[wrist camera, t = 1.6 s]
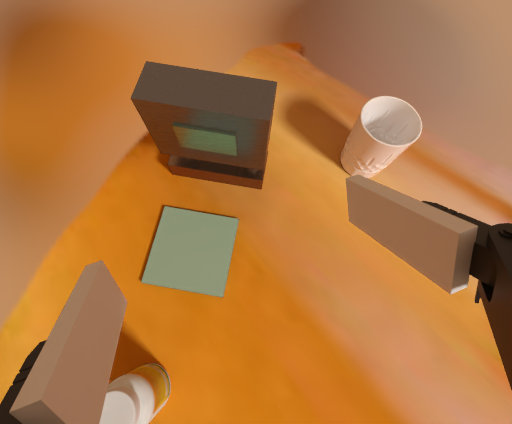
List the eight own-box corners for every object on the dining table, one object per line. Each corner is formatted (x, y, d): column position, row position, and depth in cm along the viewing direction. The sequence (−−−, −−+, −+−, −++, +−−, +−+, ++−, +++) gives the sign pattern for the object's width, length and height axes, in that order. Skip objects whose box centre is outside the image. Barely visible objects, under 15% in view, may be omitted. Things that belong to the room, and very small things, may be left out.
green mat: (142, 282, 36) (141, 282, 35) (165, 207, 40) (164, 206, 39) (223, 297, 36) (222, 297, 35) (238, 220, 39) (238, 218, 39)
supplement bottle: (155, 424, 31) (116, 472, 22) (116, 399, 31) (64, 435, 22) (180, 376, 32) (155, 401, 23) (144, 353, 33) (105, 370, 24)
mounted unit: (172, 176, 41) (129, 100, 26) (181, 147, 43) (146, 61, 28) (261, 191, 41) (269, 123, 26) (266, 161, 43) (277, 81, 28)
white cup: (392, 175, 43) (433, 137, 33) (348, 188, 42) (377, 153, 32) (371, 135, 45) (403, 90, 36) (328, 146, 44) (350, 103, 35)
